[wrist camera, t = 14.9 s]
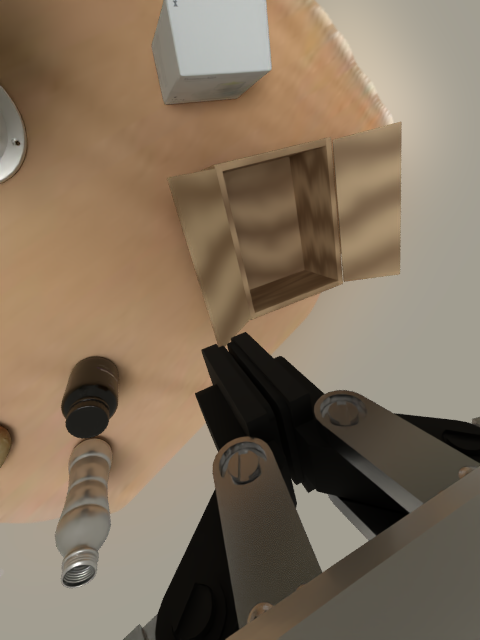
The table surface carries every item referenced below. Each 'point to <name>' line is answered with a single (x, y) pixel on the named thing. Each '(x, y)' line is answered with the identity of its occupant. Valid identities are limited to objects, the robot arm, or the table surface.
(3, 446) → the bread roll
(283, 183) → the carton
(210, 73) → the skincare box
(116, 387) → the supplement bottle
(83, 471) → the plastic bottle
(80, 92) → the table surface
